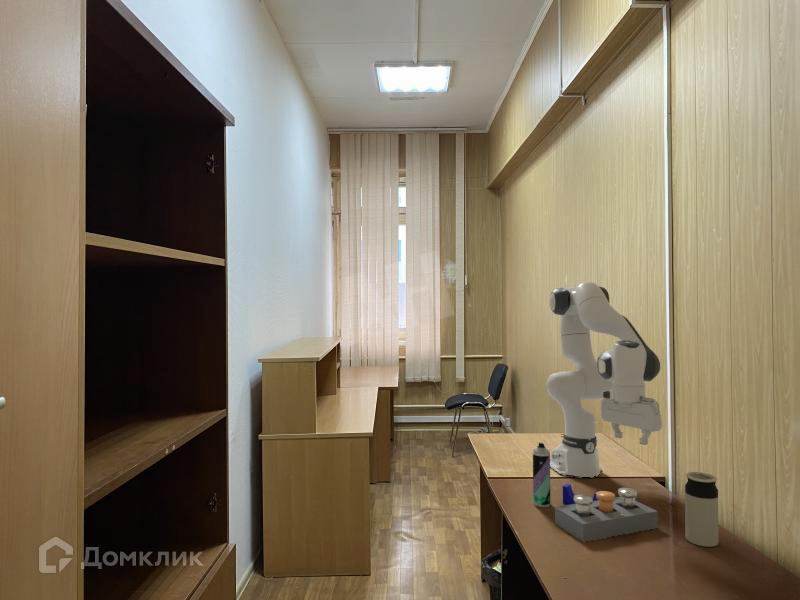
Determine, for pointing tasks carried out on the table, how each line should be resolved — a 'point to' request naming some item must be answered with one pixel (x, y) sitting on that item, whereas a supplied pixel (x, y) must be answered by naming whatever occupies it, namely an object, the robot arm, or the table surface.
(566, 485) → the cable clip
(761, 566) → the table surface
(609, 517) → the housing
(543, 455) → the spray can
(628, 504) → the far knob
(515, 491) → the table surface
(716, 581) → the table surface
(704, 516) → the travel mug
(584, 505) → the near knob
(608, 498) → the orange knob
